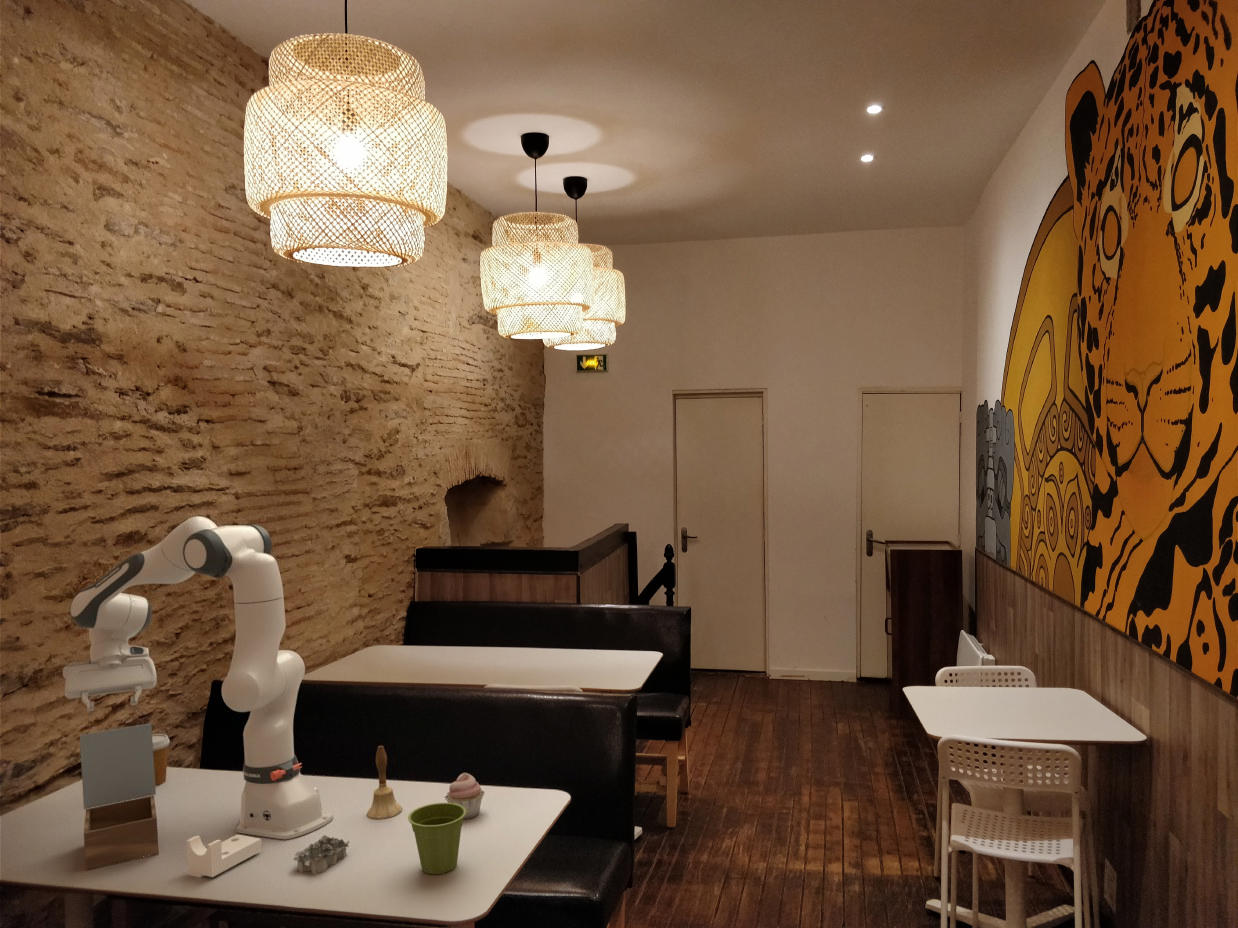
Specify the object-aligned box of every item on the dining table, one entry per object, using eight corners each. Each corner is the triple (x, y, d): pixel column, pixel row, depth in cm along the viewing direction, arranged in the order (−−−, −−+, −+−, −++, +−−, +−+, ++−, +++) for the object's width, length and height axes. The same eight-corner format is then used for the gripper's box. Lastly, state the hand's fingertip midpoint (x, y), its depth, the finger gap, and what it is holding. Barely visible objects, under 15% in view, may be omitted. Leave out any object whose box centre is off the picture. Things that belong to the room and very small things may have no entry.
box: (88, 843, 211) (85, 808, 211) (156, 828, 218) (154, 795, 218) (86, 870, 197) (83, 833, 197) (158, 853, 204) (156, 817, 204)
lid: (83, 808, 211) (84, 808, 212) (155, 794, 218) (155, 793, 219) (79, 735, 213) (79, 734, 214) (151, 723, 220) (151, 722, 221)
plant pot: (417, 885, 183) (414, 829, 182) (405, 862, 194) (403, 809, 193) (475, 872, 187) (472, 817, 187) (461, 849, 198) (458, 797, 198)
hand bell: (359, 814, 220) (355, 748, 220) (387, 802, 227) (383, 738, 227) (381, 821, 215) (377, 754, 215) (409, 809, 222) (405, 744, 222)
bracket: (212, 881, 190) (210, 845, 189) (188, 875, 193) (186, 840, 193) (261, 854, 201) (259, 820, 201) (238, 849, 204) (236, 816, 204)
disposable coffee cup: (179, 779, 251) (176, 736, 250) (145, 791, 243) (142, 746, 242) (159, 774, 256) (156, 731, 256) (125, 786, 248) (122, 741, 247)
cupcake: (459, 825, 211) (457, 782, 211) (438, 814, 218) (436, 773, 218) (493, 813, 217) (491, 771, 217) (472, 803, 224) (470, 762, 224)
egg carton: (319, 876, 189) (317, 857, 189) (290, 871, 192) (289, 852, 192) (353, 854, 199) (352, 835, 199) (325, 849, 202) (324, 831, 202)
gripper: (62, 657, 227) (63, 706, 219) (154, 647, 238) (159, 694, 230) (62, 670, 231) (63, 719, 223) (153, 660, 242) (157, 707, 234)
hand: (112, 706), depth 227 cm, fingers open, 8 cm apart
